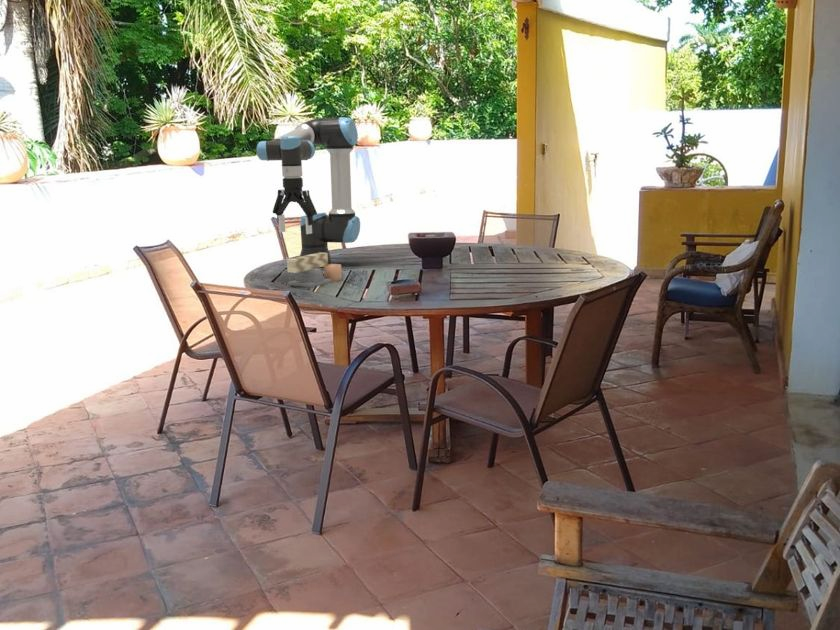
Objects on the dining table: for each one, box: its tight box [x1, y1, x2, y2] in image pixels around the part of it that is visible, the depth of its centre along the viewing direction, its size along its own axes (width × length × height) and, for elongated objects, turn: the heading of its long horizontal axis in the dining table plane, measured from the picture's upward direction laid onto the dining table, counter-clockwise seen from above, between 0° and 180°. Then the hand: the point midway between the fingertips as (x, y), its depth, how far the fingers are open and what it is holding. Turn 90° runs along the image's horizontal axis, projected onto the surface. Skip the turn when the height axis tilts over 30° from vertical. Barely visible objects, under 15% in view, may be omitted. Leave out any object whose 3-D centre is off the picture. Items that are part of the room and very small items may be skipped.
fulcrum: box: [287, 268, 332, 288], centre depth 320 cm, size 12×12×6 cm
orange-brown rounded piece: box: [323, 263, 343, 282], centre depth 327 cm, size 7×7×6 cm
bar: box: [286, 252, 328, 274], centre depth 318 cm, size 20×4×5 cm, turn 148°
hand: (295, 232), depth 313 cm, fingers open, 13 cm apart
